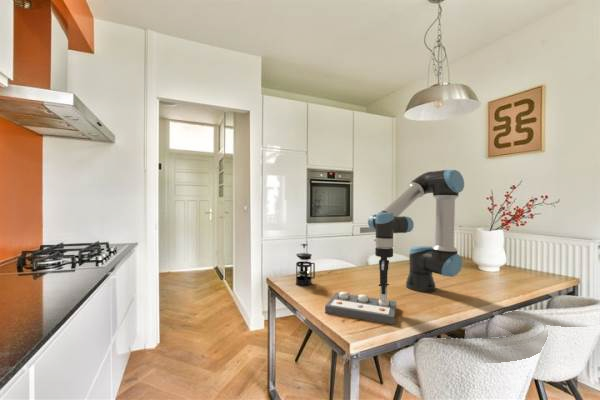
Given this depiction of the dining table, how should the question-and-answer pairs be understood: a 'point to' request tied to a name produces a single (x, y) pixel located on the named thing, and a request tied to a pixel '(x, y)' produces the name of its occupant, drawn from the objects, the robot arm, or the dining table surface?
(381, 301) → the button
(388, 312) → the button board
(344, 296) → the button
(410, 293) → the dining table surface
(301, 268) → the french press
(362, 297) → the button middle
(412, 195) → the robot arm
